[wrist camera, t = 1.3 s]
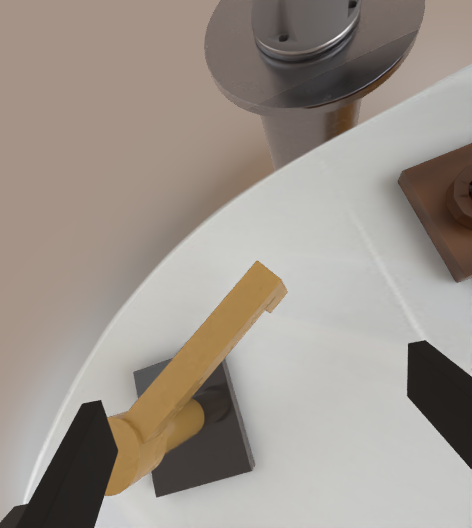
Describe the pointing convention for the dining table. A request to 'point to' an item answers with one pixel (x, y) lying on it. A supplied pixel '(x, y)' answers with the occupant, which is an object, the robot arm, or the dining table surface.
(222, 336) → the spout
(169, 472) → the faucet base
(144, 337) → the dining table surface
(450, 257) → the brown button base
